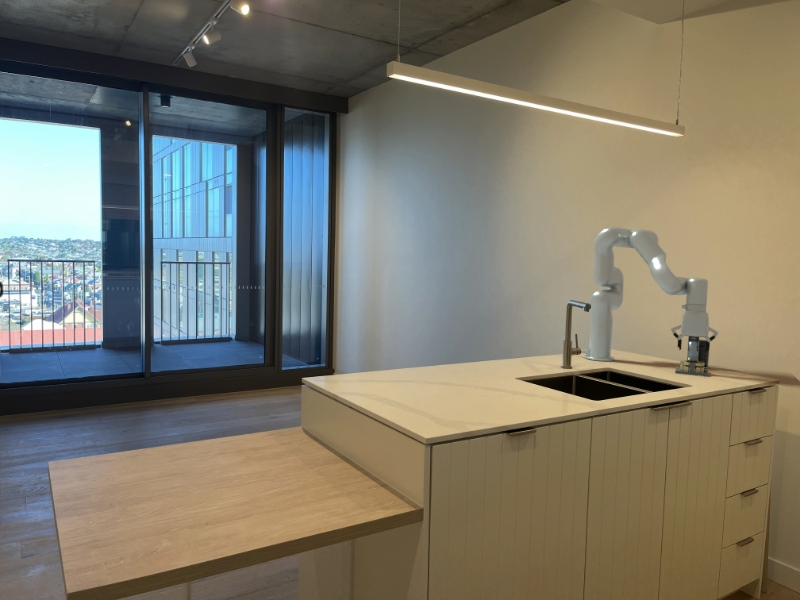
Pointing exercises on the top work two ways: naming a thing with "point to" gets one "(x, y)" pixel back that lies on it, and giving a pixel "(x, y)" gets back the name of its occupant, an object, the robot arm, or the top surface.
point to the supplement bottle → (703, 353)
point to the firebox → (691, 368)
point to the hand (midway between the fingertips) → (693, 350)
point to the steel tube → (692, 350)
